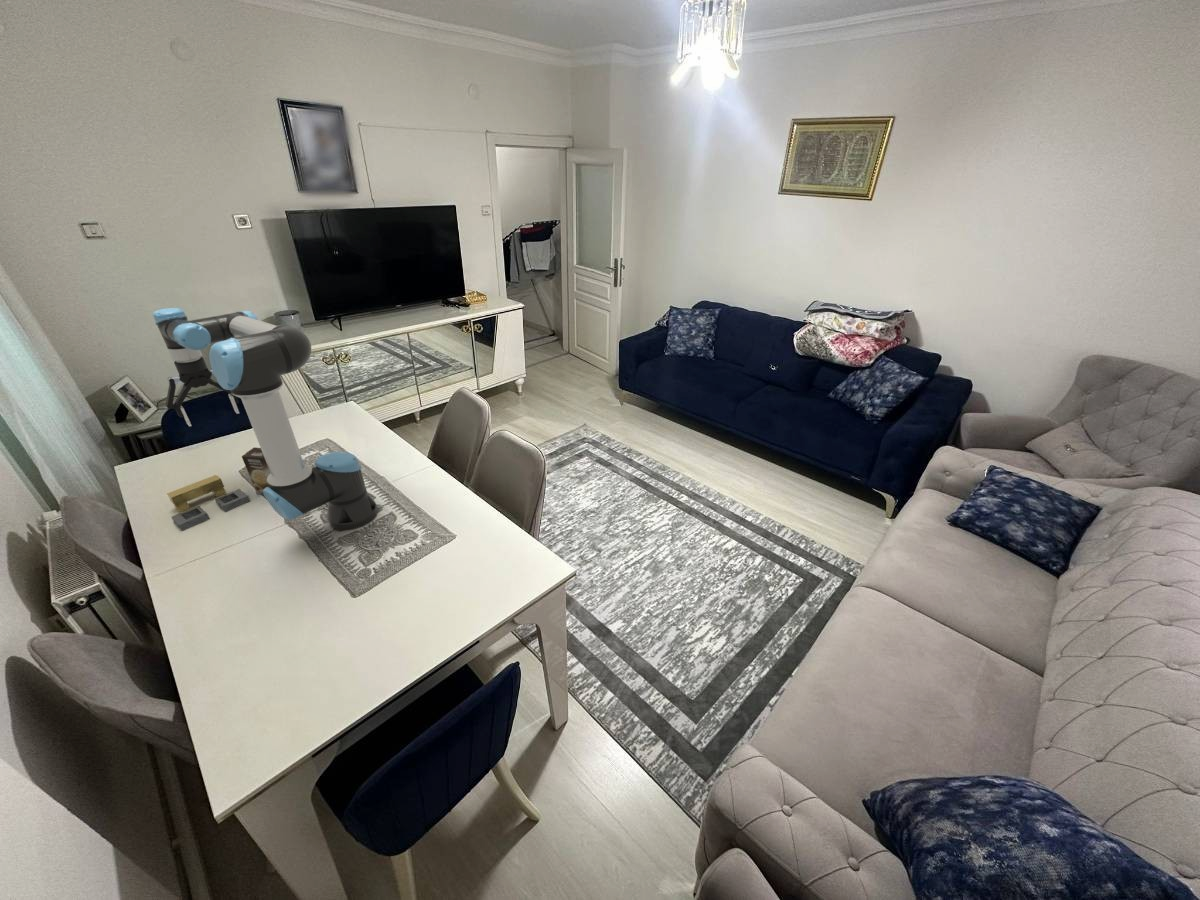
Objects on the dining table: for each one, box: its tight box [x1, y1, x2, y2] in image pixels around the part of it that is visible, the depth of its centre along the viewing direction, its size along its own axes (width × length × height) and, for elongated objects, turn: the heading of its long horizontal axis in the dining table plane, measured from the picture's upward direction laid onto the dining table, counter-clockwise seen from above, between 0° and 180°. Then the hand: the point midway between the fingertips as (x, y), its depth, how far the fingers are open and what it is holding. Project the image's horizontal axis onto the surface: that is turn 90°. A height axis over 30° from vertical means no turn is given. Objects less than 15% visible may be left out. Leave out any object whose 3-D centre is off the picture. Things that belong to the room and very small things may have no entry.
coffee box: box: [241, 447, 270, 495], centre depth 170 cm, size 9×6×16 cm
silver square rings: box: [171, 488, 251, 531], centre depth 162 cm, size 7×20×2 cm, turn 144°
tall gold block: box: [166, 474, 227, 514], centre depth 166 cm, size 4×14×6 cm, turn 144°
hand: (214, 418), depth 163 cm, fingers open, 13 cm apart
